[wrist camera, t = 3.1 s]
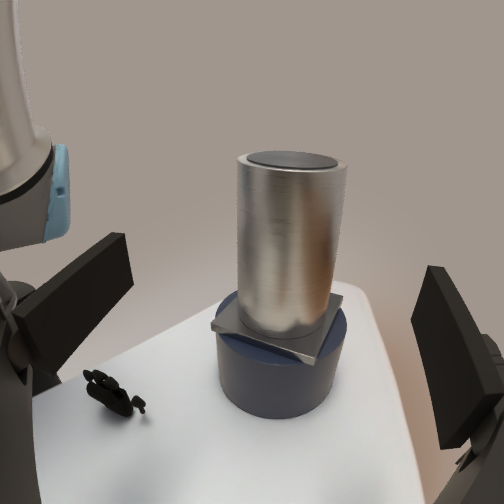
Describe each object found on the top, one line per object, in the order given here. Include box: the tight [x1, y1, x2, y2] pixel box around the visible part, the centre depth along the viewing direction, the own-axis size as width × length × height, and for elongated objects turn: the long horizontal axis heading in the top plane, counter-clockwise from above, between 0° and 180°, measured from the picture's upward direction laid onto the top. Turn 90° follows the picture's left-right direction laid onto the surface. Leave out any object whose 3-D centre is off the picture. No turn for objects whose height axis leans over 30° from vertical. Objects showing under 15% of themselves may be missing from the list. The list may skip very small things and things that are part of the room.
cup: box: [237, 151, 347, 339], centre depth 23 cm, size 7×7×12 cm
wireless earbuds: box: [83, 370, 146, 417], centre depth 22 cm, size 7×2×5 cm, turn 70°
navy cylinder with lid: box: [211, 290, 347, 419], centre depth 27 cm, size 11×11×8 cm
